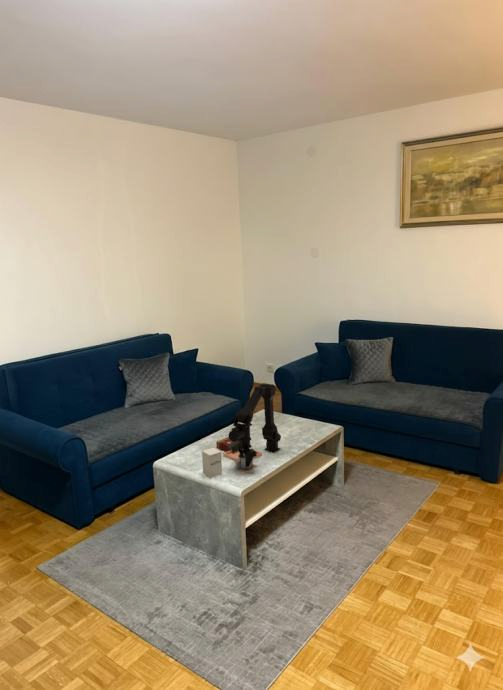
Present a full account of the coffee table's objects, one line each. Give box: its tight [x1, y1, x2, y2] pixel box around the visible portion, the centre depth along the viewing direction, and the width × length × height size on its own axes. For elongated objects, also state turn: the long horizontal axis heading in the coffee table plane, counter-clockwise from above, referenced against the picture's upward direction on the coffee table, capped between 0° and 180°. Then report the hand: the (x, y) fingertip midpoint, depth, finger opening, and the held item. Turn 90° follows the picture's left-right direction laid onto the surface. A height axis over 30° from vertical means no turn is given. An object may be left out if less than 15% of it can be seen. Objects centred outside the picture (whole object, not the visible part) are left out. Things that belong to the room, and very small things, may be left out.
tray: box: [222, 447, 263, 463], centre depth 276 cm, size 15×15×2 cm
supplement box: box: [201, 447, 223, 479], centre depth 255 cm, size 7×7×13 cm
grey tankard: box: [235, 453, 254, 470], centre depth 261 cm, size 9×7×6 cm
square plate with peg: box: [234, 463, 258, 473], centre depth 262 cm, size 9×9×4 cm
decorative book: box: [216, 436, 238, 454], centre depth 288 cm, size 11×16×5 cm
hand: (245, 463), depth 262 cm, fingers closed on grey tankard, 7 cm apart
